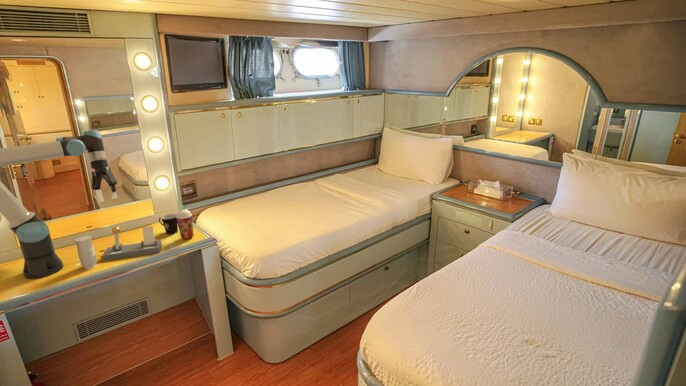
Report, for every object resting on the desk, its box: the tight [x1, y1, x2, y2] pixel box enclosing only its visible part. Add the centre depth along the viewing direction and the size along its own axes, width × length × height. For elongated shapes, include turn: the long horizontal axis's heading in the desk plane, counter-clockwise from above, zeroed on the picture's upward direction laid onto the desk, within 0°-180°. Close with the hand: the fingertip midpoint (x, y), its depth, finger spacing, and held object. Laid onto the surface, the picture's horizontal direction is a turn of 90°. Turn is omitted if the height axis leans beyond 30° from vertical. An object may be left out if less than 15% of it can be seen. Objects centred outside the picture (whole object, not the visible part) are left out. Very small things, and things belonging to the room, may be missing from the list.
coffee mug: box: [158, 213, 179, 235], centre depth 224 cm, size 12×9×10 cm
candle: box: [74, 235, 98, 270], centre depth 183 cm, size 7×7×15 cm
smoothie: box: [176, 204, 194, 241], centre depth 213 cm, size 8×8×20 cm
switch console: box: [102, 238, 163, 262], centre depth 198 cm, size 26×10×5 cm, turn 109°
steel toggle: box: [111, 226, 121, 249], centre depth 197 cm, size 4×4×11 cm
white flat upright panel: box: [141, 226, 156, 245], centre depth 201 cm, size 5×1×9 cm, turn 109°
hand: (107, 200), depth 198 cm, fingers open, 13 cm apart
